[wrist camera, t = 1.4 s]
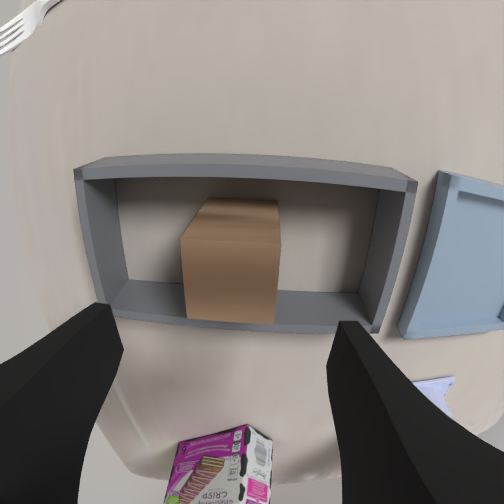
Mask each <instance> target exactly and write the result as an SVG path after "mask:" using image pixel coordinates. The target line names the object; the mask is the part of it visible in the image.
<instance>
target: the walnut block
mask: <svg viewBox="0 0 504 504" xmlns="http://www.w3.org/2000/svg"><path fill="white" fill-rule="evenodd" d="M180 249H181V261H182V273H183V283H184V293H185V303H186V312H187V318H189V319H200V320H212V321H224V322H238V323H254V324H273V325H274V318H275V308H276V298H277V287H278V276H279V264H280V252H281V236H280V224H279V212H278V201H275V200H256V199H233V198H207V200H206V201H205V203H204V204H203V206H202V207H201V208H200V210H199V211H198V213H197V214H196V216H195V217H194V219H193V220H192V222H191V223H190V225H189V226H188V228H187V229H186V230H185V232H184V233H183V235H182V236H181V238H180Z"/></svg>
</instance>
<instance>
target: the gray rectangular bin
mask: <svg viewBox="0 0 504 504" xmlns="http://www.w3.org/2000/svg"><path fill="white" fill-rule="evenodd" d="M73 170H74V180H75V188H76V196H77V203H78V210H79V216H80V222H81V228H82V233H83V239H84V244H85V249H86V253H87V258H88V263H89V267H90V271H91V275H92V279H93V283H94V287H95V291H96V295H97V298H98V302H99V303H104V304H110V305H111V309H112V312H113V316H114V317H121V318H128V319H135V320H142V321H150V322H158V323H166V324H175V325H184V326H194V327H205V328H216V329H229V330H243V331H260V332H281V333H313V334H336V330H337V326H338V323H339V321H358V322H359V323H360V324H361V325H362V326H363V327H364V328H365V330H366V331H367V332H368V333H369V334H373V333H379V331H380V328H381V325H382V322H383V319H384V316H385V313H386V310H387V307H388V304H389V301H390V298H391V295H392V291H393V288H394V285H395V281H396V278H397V274H398V271H399V267H400V263H401V260H402V256H403V252H404V248H405V244H406V240H407V235H408V231H409V227H410V222H411V217H412V213H413V208H414V202H415V197H416V192H417V186H418V182H417V181H416V180H414V179H412V178H410V177H408V176H406V175H405V174H403V173H401V172H399V171H397V170H395V169H393V168H389V167H382V166H375V165H368V164H361V163H352V162H344V161H335V160H325V159H314V158H302V157H289V156H273V155H251V154H156V155H135V156H119V157H106V158H102V159H100V160H97V161H94V162H91V163H89V164H86V165H83V166H81V167H78V168H76V169H73ZM130 177H234V178H259V179H278V180H293V181H307V182H320V183H331V184H341V185H351V186H361V187H369V188H378V189H380V190H379V197H378V203H377V209H376V215H375V220H374V226H373V231H372V236H371V241H370V246H369V251H368V256H367V260H366V265H365V269H364V273H363V278H362V282H361V286H360V290H359V293H331V292H304V291H282V290H277V298H276V308H275V318H274V325H273V324H254V323H238V322H224V321H212V320H200V319H189V318H187V312H186V303H185V293H184V284H174V283H162V282H151V281H140V280H129V279H128V274H127V268H126V263H125V257H124V251H123V244H122V238H121V231H120V224H119V216H118V208H117V199H116V189H115V178H130Z"/></svg>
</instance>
